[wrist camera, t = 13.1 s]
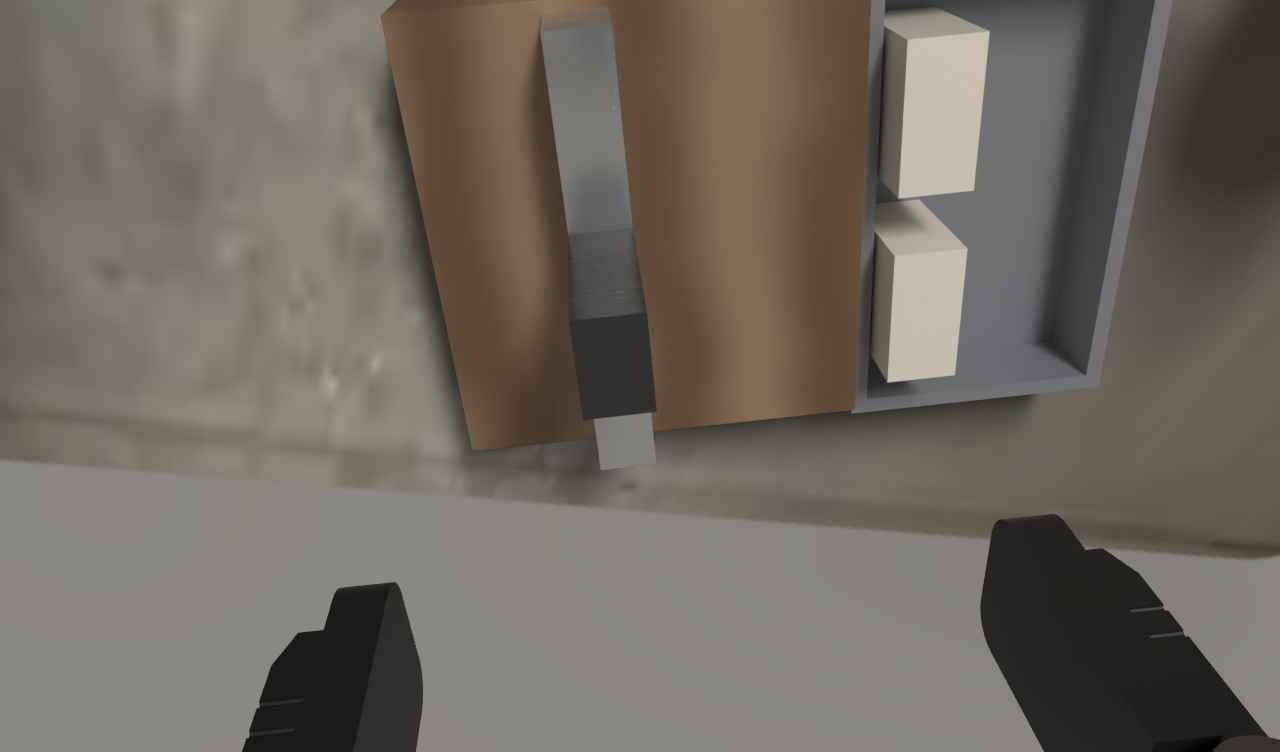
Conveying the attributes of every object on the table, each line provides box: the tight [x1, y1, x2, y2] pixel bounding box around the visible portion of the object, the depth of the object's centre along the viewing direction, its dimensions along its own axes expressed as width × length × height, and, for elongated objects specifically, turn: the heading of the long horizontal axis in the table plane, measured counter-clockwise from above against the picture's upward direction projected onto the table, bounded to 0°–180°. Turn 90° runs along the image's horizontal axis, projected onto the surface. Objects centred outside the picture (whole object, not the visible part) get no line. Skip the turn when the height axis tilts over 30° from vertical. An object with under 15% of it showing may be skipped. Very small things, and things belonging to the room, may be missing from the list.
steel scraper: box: [540, 7, 657, 470], centre depth 28 cm, size 2×15×9 cm, turn 5°
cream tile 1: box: [877, 6, 990, 199], centre depth 31 cm, size 5×5×2 cm
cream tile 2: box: [869, 200, 968, 383], centre depth 35 cm, size 5×5×2 cm
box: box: [850, 0, 1173, 414], centre depth 34 cm, size 10×17×4 cm, turn 5°
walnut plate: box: [380, 0, 871, 451], centre depth 34 cm, size 15×16×4 cm
